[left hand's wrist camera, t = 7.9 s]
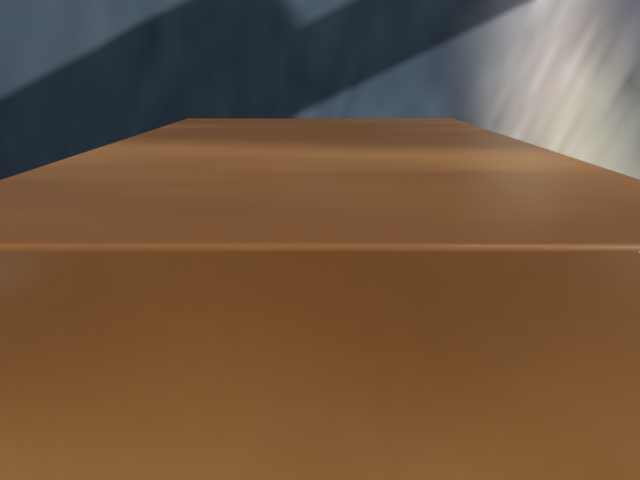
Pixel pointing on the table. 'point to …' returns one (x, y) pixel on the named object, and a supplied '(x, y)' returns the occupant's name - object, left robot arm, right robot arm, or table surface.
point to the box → (320, 307)
